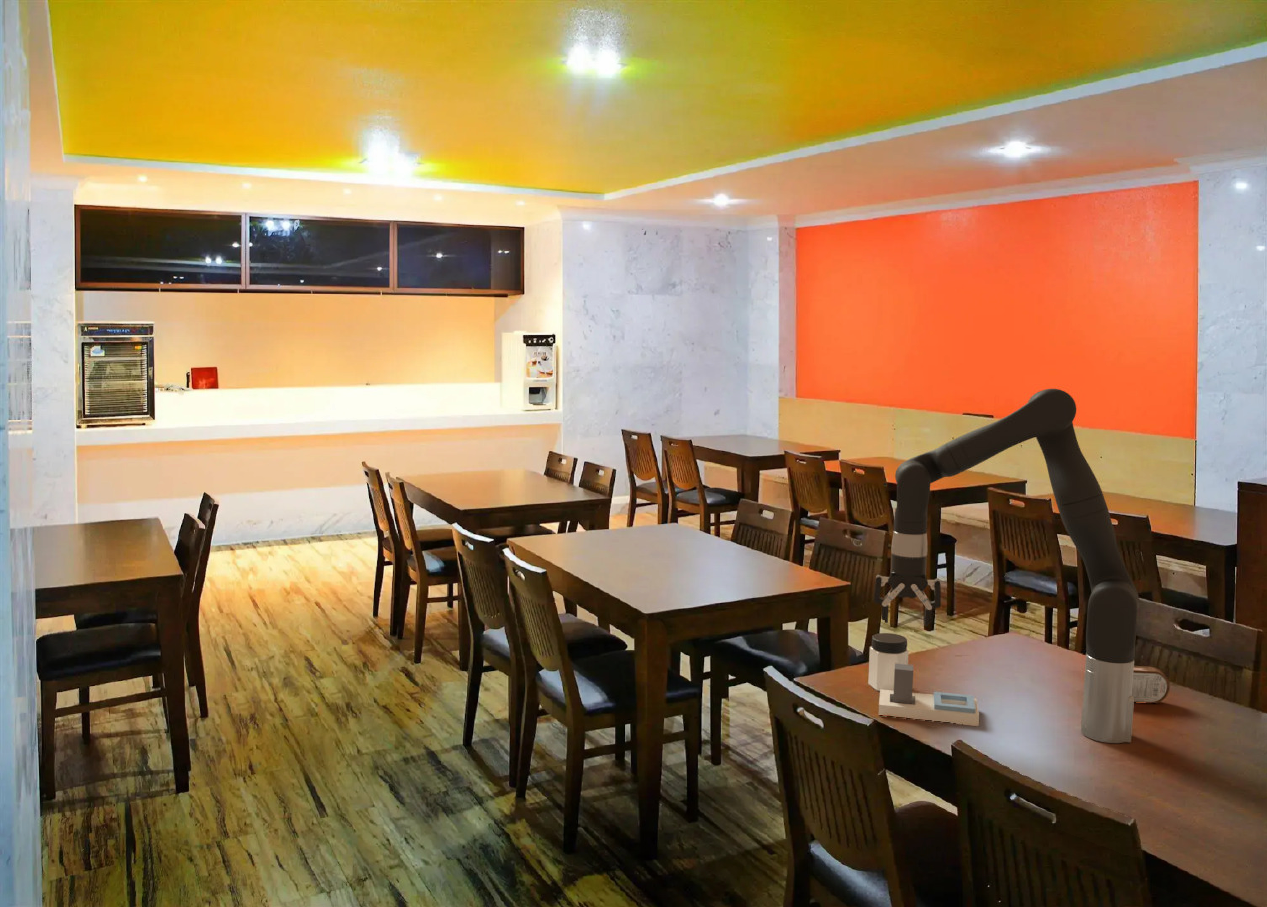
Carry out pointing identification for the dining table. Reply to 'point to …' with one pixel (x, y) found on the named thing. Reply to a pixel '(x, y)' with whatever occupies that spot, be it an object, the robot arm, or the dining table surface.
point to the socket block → (933, 707)
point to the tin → (1149, 685)
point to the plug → (903, 683)
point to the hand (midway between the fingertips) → (905, 623)
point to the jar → (886, 659)
